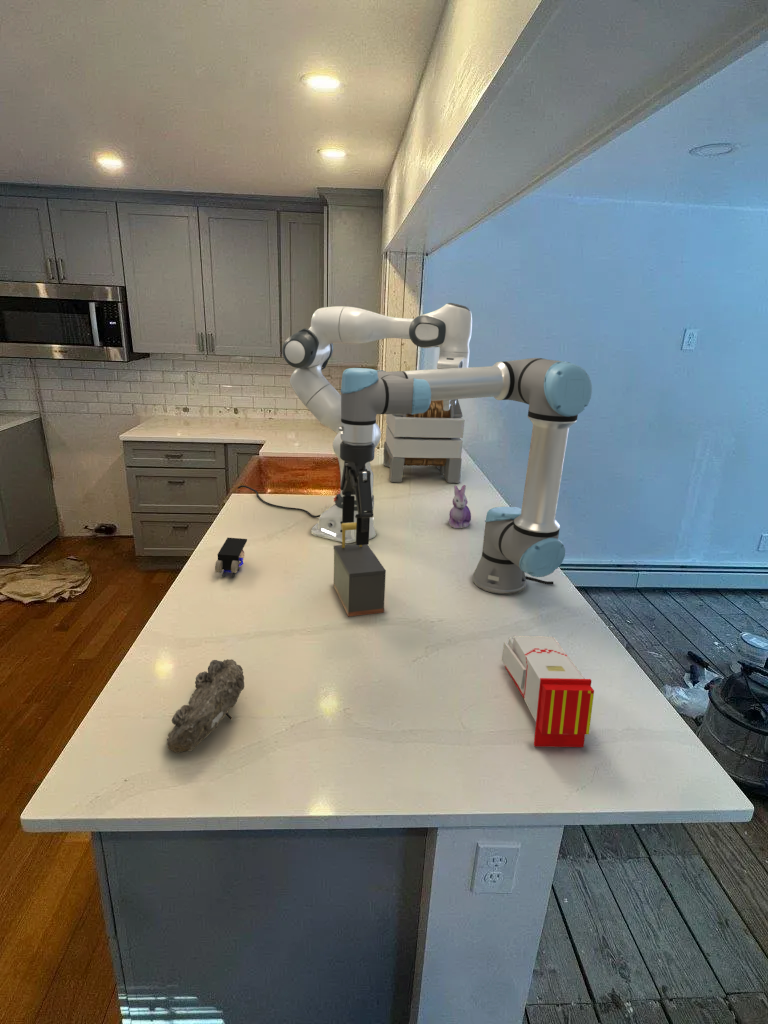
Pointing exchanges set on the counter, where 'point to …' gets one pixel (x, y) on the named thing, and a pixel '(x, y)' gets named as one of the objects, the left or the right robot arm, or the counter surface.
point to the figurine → (459, 509)
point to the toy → (550, 690)
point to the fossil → (206, 705)
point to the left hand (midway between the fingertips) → (449, 408)
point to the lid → (357, 556)
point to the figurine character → (230, 556)
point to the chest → (359, 591)
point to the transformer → (425, 441)
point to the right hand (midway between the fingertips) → (354, 532)
